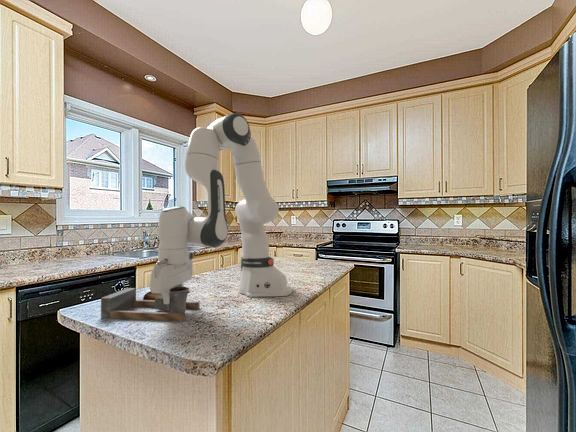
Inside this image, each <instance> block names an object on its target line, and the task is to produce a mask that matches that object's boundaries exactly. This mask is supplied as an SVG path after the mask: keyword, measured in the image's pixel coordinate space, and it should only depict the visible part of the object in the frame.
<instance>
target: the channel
mask: <svg viewBox="0 0 576 432" xmlns="http://www.w3.org/2000/svg"><path fill="white" fill-rule="evenodd" d="M154 302H155V300H143V299H137V288H136V287H128V288H124V289H121V290H120V291H116V292H114V293H111V294H108V295H106V296H103V297H101V298H100V318H101V319H103V318H104V319H119V318H121V320H123V319H125V320H145V321H146V320H148V321H168V322H170V321H171V322H183V321H184V320H185V313H170V312H166V311H163V312H161V311H141V310H140V311H139V310H138V311H136V310H130V309H132V308H134V307H135V308H136V307H138V308H155V307H154ZM187 309H189V310H190V309H191V310H199V309H200V301H186V310H187Z"/></svg>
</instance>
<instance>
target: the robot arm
mask: <svg viewBox="0 0 576 432" xmlns="http://www.w3.org/2000/svg"><path fill="white" fill-rule="evenodd" d="M251 136H252V134H251V128H250V124H249V122H248V120H247V119H246V117H245V116H243V114H241V113H237V112H235V113H229V114H226V115H225V116H221V117H219V118H217V119H216V120H214V121H213V122H212V123H210V124H208V125H206V127H203V126H201V127H196V128H195V129H193V130H192V132H191V134H190V137H189V140H188V144H187V147H186V153H185V161H184V166H185V168H184V169H185V173H186V174H187V176H188V177H189V178H190V179H191V180H192V181H193V182H196V183H198V184H200V185H202V186H203V187H204V188H205V189H206V192H207V210H208V211H207V215H206V216H197V215H193V214H192V213H191V212H189V210H187V208H186V206H182V205H178V206H168V207H165V208H163V209H161V211H160V214H159V217H158V231H157V233H158V238H159V244H158V246H157V261H156V263H155V265H154V266H153V268H152V269H151V272H150V273H151V274H150V283H149V292H150V291H151V293H161V294H162V297H163V298H164V302H163V303H164V304H169V303H171V297H170V295H169V293H170V289H172V288H174V287H185V284H184V283H187V282H188V281H190V280H191V279H192V276H193V269H194V268H193V267H194V264H193V263H194V261H193V260H194V259H195V258H194V257H195V254H194V252H193V251H190V250H189V245H195V246H204V247H210V248H215V249H216V248H218V247H221V246H222V244H224V242H225V241H226V240H227V238H228V236H229V227H228V221H227V215H226V190H225V189H226V188H225V180H224V176H223V174H222V172H220V171H219V165H218V161H219V151H222V150H225V149H229V151H230V152H231V155H232V160H233V166H234V167H233V169H234V173H235V177H236V178H235V179H236V182H237V184H236V185H237V186H238V188H239V189H240V190H241V193H242V195H243V199H242V200H240V201H238V202H237V204H236V206H235V209H234V214H235V216H236V218H237V219H238V224H239V228H240V229H239V230H240V233H241V251H242V252H241V257H240V258H241V259H240V271H241V273H240V282H239V286H238V289H237V292H238V293H240V294H242V295H245V296H247V297H251V298H253V297H254V298H256V297H257V298H258V297H287V296H290V295H291V294H292V293H293V286H292V285H288V280H287V277H286V275H285V274H284V273H283V272H282V271H281V270H279V269H278V268H277V267H276V266H274V264H275V261H274V260H275V259H274V257H271V256H270V252H269V251H270V250H269V249H270V238H269V236H268V235H267V232H266V229H265V226H264V224H268V223H270V222H273V221H274V220H276V218H277V217H278V215H279V211H280V210H279V205H278V203H277V201H276V200H275V199H274V198H273V197H272V195H271V193H270V191H269V188H268V186H267V184H266V181H265V178H264V173H263V166H262V161H261V156H260V152H259V148H258V146H257V143H256V140H255V139H254V138H253V137H251Z"/></svg>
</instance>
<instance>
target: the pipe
mask: <svg viewBox="0 0 576 432" xmlns="http://www.w3.org/2000/svg"><path fill="white" fill-rule="evenodd" d="M188 291H190V288H189V287H186V286H183V287H174V288H172V289H170V293H169V295H170V297H171V303H169V304H164V303H163V302H164V298H162V297H158V298H157V299H156V300H155V302H154V307H153V308H155V309H156V310H159V311H163V312H168V313H184V314H185V313H186V311H187V309H186V302H187V300H188V295H189V293H188Z"/></svg>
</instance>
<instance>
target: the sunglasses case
mask: <svg viewBox="0 0 576 432" xmlns="http://www.w3.org/2000/svg"><path fill="white" fill-rule="evenodd" d="M190 292H191V291H190V290H189V291H188V294H189V293H190ZM158 297H162V294H161V293H151V291H150V290H149V291H148V292H146V293H145V294H144V295H143V297H142V300H156V299H157V298H158ZM162 298H163V297H162Z"/></svg>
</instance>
